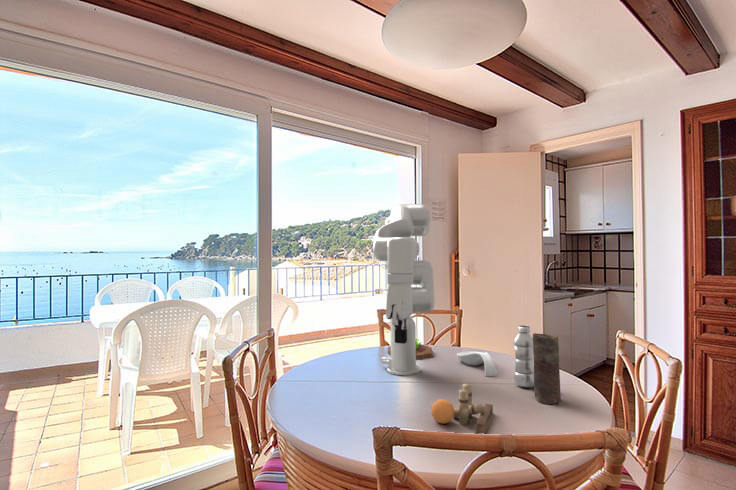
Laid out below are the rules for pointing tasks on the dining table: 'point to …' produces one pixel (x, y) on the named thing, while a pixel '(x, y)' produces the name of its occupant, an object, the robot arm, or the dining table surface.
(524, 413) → the dining table surface
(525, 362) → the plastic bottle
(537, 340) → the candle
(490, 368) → the spoon rest
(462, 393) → the pin
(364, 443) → the dining table surface
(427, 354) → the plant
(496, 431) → the dining table surface
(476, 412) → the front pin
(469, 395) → the pin
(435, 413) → the ball
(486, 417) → the brown wooden bar
